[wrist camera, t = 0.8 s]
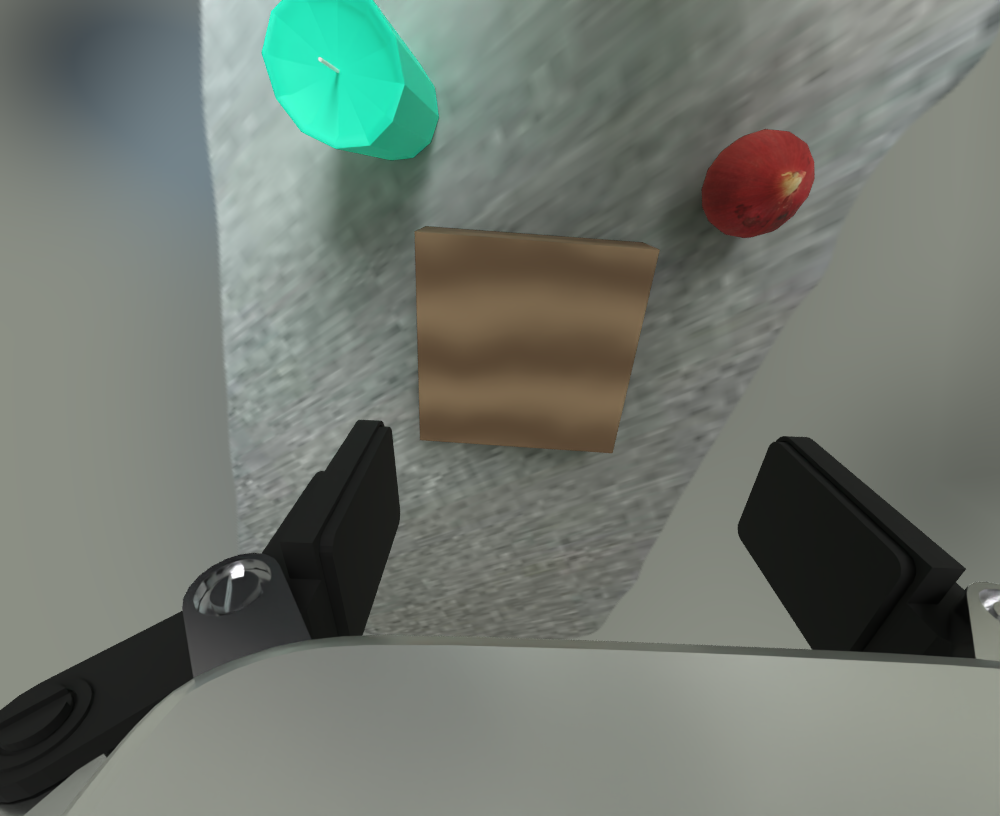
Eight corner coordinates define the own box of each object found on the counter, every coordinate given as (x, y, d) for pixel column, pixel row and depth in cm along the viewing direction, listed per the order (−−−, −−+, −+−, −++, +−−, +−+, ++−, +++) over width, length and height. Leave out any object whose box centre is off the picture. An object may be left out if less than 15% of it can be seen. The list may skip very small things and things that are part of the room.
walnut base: (425, 226, 31) (414, 231, 27) (642, 242, 31) (659, 249, 27) (428, 416, 38) (420, 440, 35) (603, 428, 38) (612, 453, 35)
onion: (770, 217, 30) (851, 227, 23) (688, 241, 31) (740, 258, 24) (770, 123, 27) (861, 102, 20) (680, 153, 28) (737, 143, 21)
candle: (347, 151, 29) (251, 132, 18) (346, 39, 26) (233, -62, 15) (434, 168, 29) (391, 159, 18) (443, 59, 26) (399, -26, 16)
